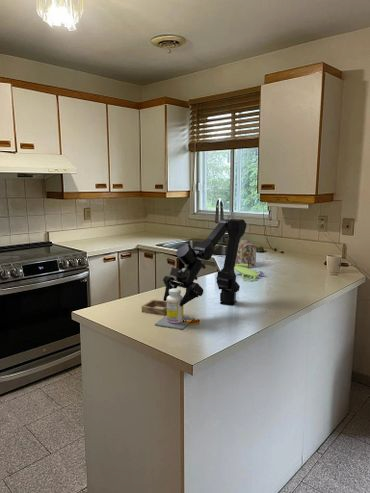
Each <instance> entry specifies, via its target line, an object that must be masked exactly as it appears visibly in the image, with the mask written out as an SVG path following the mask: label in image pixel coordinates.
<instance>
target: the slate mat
mask: <svg viewBox="0 0 370 493" xmlns="http://www.w3.org/2000/svg"><path fill="white" fill-rule="evenodd" d="M183 317H184V318H183V320H193V321H194V320H195V317H189V316H183ZM189 323H190V322H183V321H182V322H180V323H170V322H168V321H167V314H165V315H164V316H163V317H162V318H160V319H159V320H158V321H157V322H155V323H154V326H155V325H156V326H157V327H161V328H167V327H168V329H173V328H174V329H175V330H180V331H181V330H182V331H184V329H186V328H187V327H188V326H189V325H190V324H191V323H190V324H189ZM188 324H189V325H188ZM156 326H155V327H156ZM174 329H173V330H174Z"/></svg>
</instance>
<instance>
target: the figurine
mask: <svg viewBox="0 0 370 493" xmlns="http://www.w3.org/2000/svg"><path fill="white" fill-rule="evenodd" d="M240 266H244V267H240ZM245 267H248V264H236V266H235V267H234V271H235V272H238V273H239V274H241V278H242V279H243V281H244V282H254V281H255V280H256V279H257V277H258V276H259V277H264V275H265V272H263V271H257V270H254V269H252V268H245ZM247 278H249V279H247Z"/></svg>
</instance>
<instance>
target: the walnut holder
mask: <svg viewBox="0 0 370 493" xmlns="http://www.w3.org/2000/svg"><path fill="white" fill-rule="evenodd" d="M162 307H163V308H162ZM145 312H146V313H147V314H153V315H160V316H166V315H167V300H166V301H164V300H159V299H151V300H149V301H148V302H146V303H145V304H143V305H142V306H141V313H145Z"/></svg>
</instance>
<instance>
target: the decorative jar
mask: <svg viewBox="0 0 370 493" xmlns="http://www.w3.org/2000/svg"><path fill="white" fill-rule="evenodd" d="M256 262H257V248H256V246H255V245H254V243H252V242H250V241H248V240H247V239H240V240H239V246H238V251H237V256H236V262H235V266H236V264H248V267H245V268H248V269H254V268H256V266H257V265H256V264H257V263H256ZM240 267H244V266H240Z"/></svg>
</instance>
